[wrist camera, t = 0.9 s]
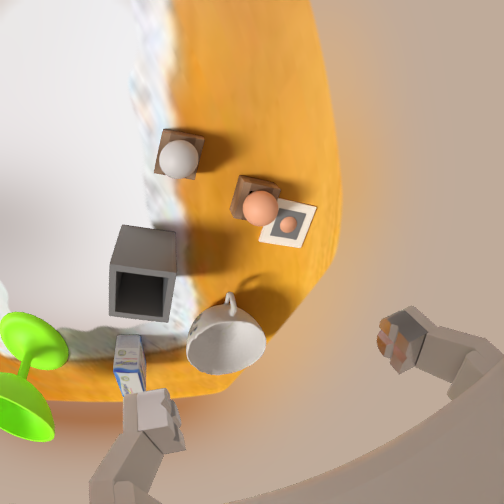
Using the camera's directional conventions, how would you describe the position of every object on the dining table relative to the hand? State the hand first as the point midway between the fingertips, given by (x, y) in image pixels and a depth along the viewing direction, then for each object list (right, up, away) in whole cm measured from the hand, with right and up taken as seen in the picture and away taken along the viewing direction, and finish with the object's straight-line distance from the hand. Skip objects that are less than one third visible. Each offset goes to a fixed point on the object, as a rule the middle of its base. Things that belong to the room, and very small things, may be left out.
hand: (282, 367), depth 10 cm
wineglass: (-44, -13, +35) cm, 57 cm away
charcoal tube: (-16, +4, +31) cm, 36 cm away
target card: (+4, +8, +34) cm, 36 cm away
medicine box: (-23, -14, +40) cm, 49 cm away
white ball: (-9, +14, +22) cm, 27 cm away
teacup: (-6, -6, +40) cm, 41 cm away
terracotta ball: (0, +9, +27) cm, 29 cm away
